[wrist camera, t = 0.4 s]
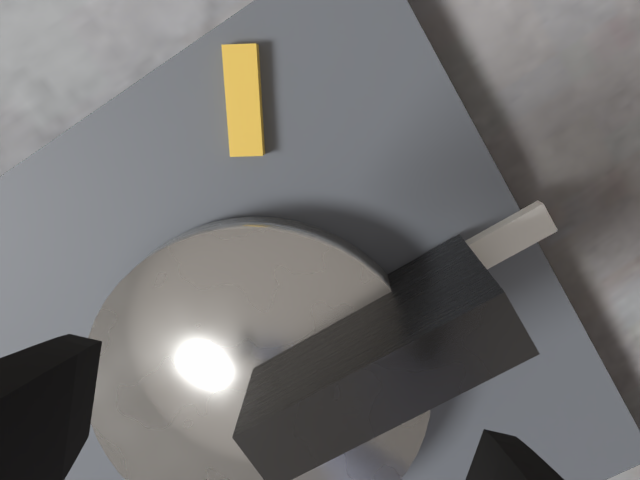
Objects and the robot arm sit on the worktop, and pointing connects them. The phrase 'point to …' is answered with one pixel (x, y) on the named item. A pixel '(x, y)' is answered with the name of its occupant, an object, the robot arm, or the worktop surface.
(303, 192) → the board
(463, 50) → the worktop surface
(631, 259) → the worktop surface
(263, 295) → the dial
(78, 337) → the robot arm
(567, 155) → the worktop surface
